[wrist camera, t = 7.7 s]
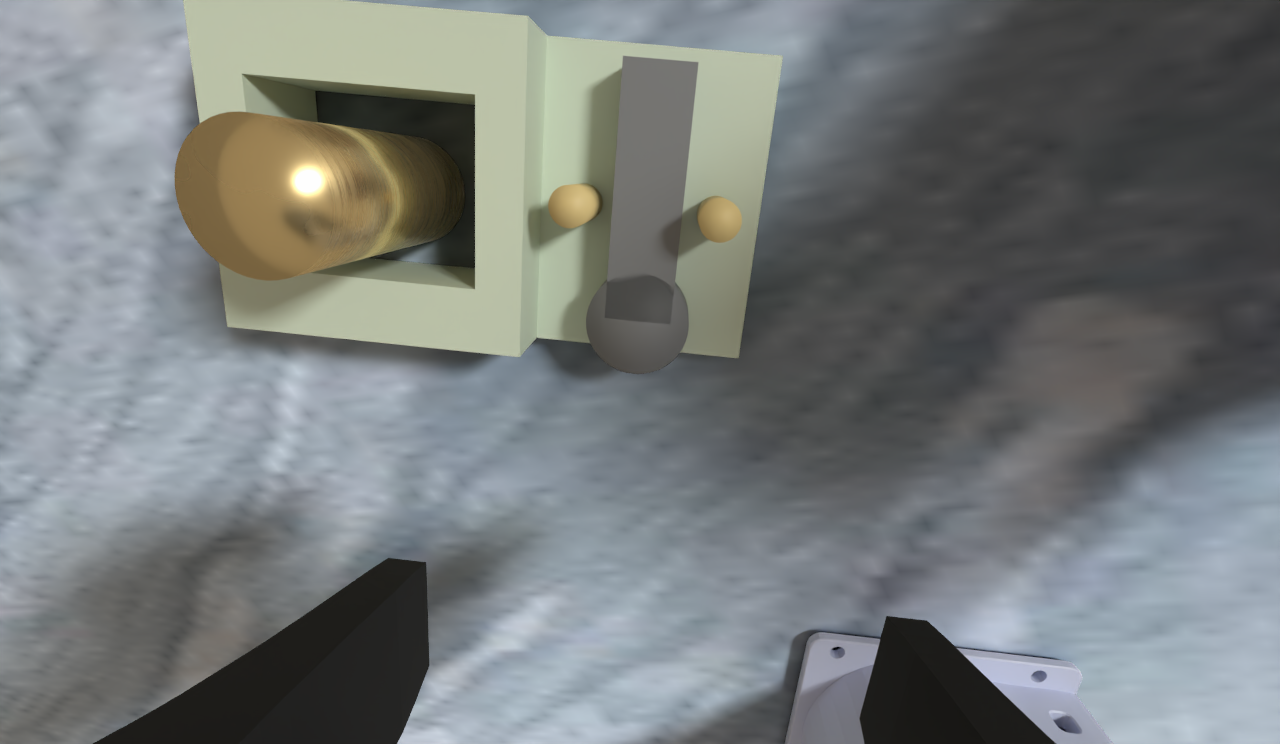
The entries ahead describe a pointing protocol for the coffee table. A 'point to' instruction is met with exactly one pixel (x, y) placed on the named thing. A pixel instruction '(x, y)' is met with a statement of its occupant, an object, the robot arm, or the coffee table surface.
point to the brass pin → (310, 193)
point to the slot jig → (521, 177)
